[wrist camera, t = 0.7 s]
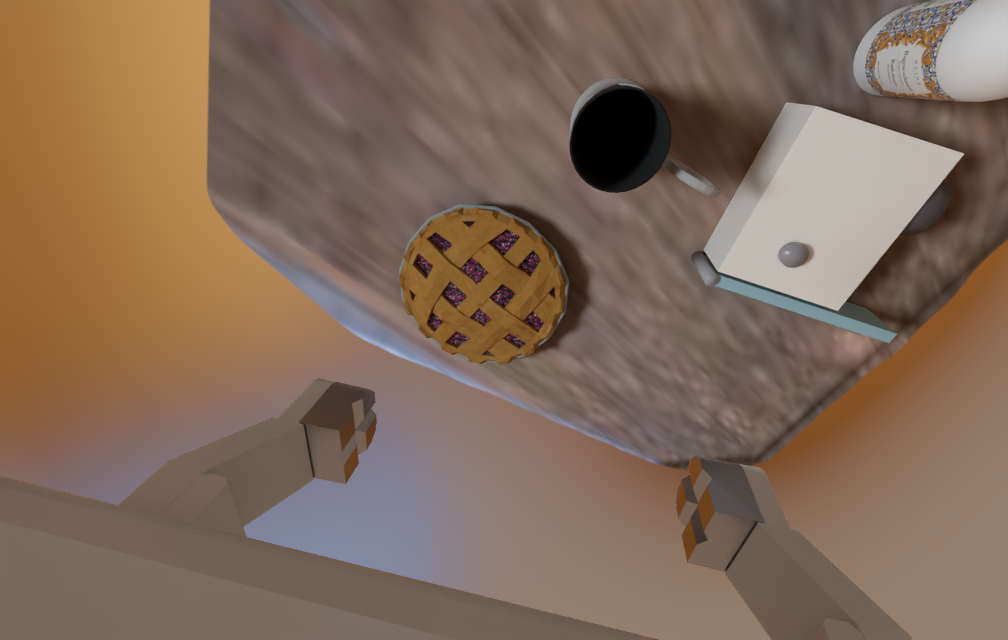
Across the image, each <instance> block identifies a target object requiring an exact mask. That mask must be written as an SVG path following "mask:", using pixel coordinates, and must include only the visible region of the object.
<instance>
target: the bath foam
mask: <svg viewBox="0 0 1008 640" xmlns="http://www.w3.org/2000/svg"><path fill="white" fill-rule="evenodd" d="M853 72H854V77H855V80H856V82H857V84H858V85H859V86H860V87H861V88H862V89H863V90H864V91H866V92H867V93H870V94H872V95H876V96H886V97H897V98H913V99H928V100H943V101H959V102H983V101H991V100H997V99H1002V98H1006V97H1008V0H930V1H926V2H921V3H918V4H914V5H909V6H906V7H903V8H900V9H897V10H895V11H893V12H891V13H890V14H888V15H886V16H885V17H883V18H882V19H881V20H879V21H878V22H877V23H876V24H875V25H874V26H873V27H872V28H871V29H870V30H869V31H868V32H867V34H866V35H865V36H864V38H863V39H862V41H861V43H860V44H859V46H858V49H857V51H856V54H855V57H854V63H853Z"/></svg>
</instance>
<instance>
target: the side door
mask: <svg viewBox="0 0 1008 640" xmlns="http://www.w3.org/2000/svg"><path fill="white" fill-rule="evenodd" d="M692 261H693V263H694V264H695V266H696V268H697V270H698V272H699V274H700V275H701V277H702V279H703V281H704V283H705V284H706V285H708V286H713V285H715V286H718V287H721V288H724V289H727V290H730V291H733V292H736V293H739V294H742V295H745V296H748V297H751V298H754V299H757V300H760V301H763V302H766V303H769V304H772V305H775V306H778V307H781V308H784V309H787V310H790V311H793V312H796V313H799V314H802V315H805V316H808V317H812V318H815V319H818V320H821V321H824V322H827V323H830V324H832V325H833V326H834V327H837V328H840V329H843V330H846V331H849V332H852V333H855V334H858V335H861V334H863V335H866V336H869V337H872V338H875V339H878V340H881V341H884V342H887V343H889V342H890V341H891V340H892V339H893V338H894V337H895V336H896V335H897V333H896V332H894V331H893V330H892V329H891V328H890V327H888V326H887V325H886V324H885V323H884V322H882V321H881V320H880V319H879V318H878V317H877V316H875V315H874V314H873V313H872V312H871V311H869V310H868V309H867V308H865V307H861V306H858V305H855V304H852V303H849V302H846V301H845V303H844V304H843V305H842V306H841V308H840V309H839V310H838V311H837V310H833V309H830V308H827V307H824V306H821V305H818V304H815V303H812V302H809V301H806V300H803V299H800V298H797V297H794V296H791V295H788V294H785V293H782V292H779V291H776V290H773V289H770V288H767V287H764V286H761V285H758V284H755V283H752V282H749V281H745V280H742V279H739V278H736V277H733V276H730V275H727V274H724V273H721V272H718V271H717V270H716V268H715V267H714V265H713V264H712V262H711V260H710V259H709V257H708V256H706V255H704V254H703V253H702V252H699V251H698V252H695V253H694V254H693V255H692Z"/></svg>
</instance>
